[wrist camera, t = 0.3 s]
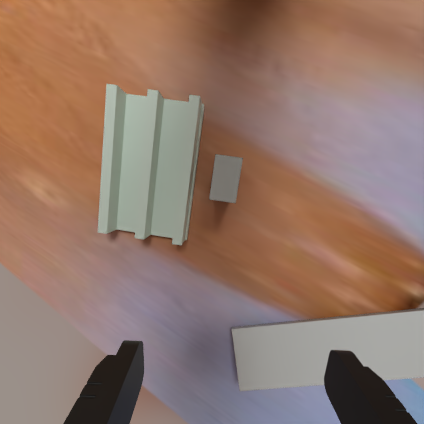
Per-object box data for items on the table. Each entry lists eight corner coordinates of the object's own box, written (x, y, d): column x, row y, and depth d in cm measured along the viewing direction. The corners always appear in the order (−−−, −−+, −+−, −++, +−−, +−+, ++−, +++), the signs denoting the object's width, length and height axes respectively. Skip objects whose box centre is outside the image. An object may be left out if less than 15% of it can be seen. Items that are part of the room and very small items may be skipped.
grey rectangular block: (218, 163, 35) (215, 154, 23) (236, 166, 35) (242, 157, 23) (214, 193, 35) (209, 199, 24) (231, 195, 35) (235, 203, 23)
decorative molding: (231, 318, 42) (238, 373, 40) (231, 329, 37) (239, 391, 36) (411, 300, 39) (426, 357, 38) (436, 309, 35) (454, 374, 33)
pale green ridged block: (119, 95, 34) (105, 83, 30) (204, 106, 34) (201, 96, 29) (110, 226, 37) (96, 232, 33) (187, 238, 37) (183, 245, 33)
